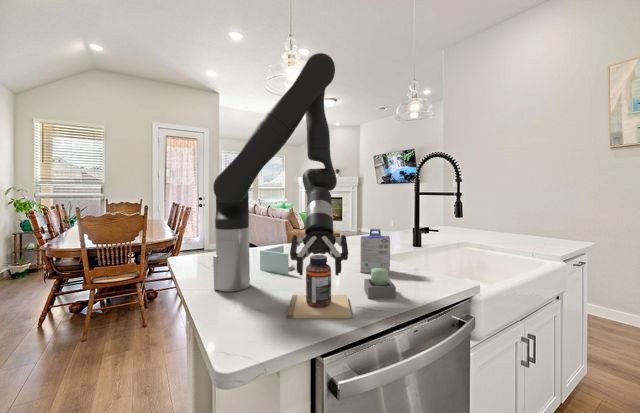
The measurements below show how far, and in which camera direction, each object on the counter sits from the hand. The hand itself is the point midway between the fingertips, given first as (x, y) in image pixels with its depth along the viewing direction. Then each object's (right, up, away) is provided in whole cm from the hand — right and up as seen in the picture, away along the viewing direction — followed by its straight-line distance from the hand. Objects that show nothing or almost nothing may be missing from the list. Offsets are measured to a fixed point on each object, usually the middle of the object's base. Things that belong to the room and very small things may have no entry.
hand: (319, 273), depth 68 cm
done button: (+16, -5, +9) cm, 19 cm away
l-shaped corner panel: (-13, -7, +36) cm, 39 cm away
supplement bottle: (0, -7, +1) cm, 8 cm away
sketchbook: (0, -8, +1) cm, 8 cm away
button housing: (+16, -8, +9) cm, 20 cm away
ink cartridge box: (+19, -7, +31) cm, 37 cm away
